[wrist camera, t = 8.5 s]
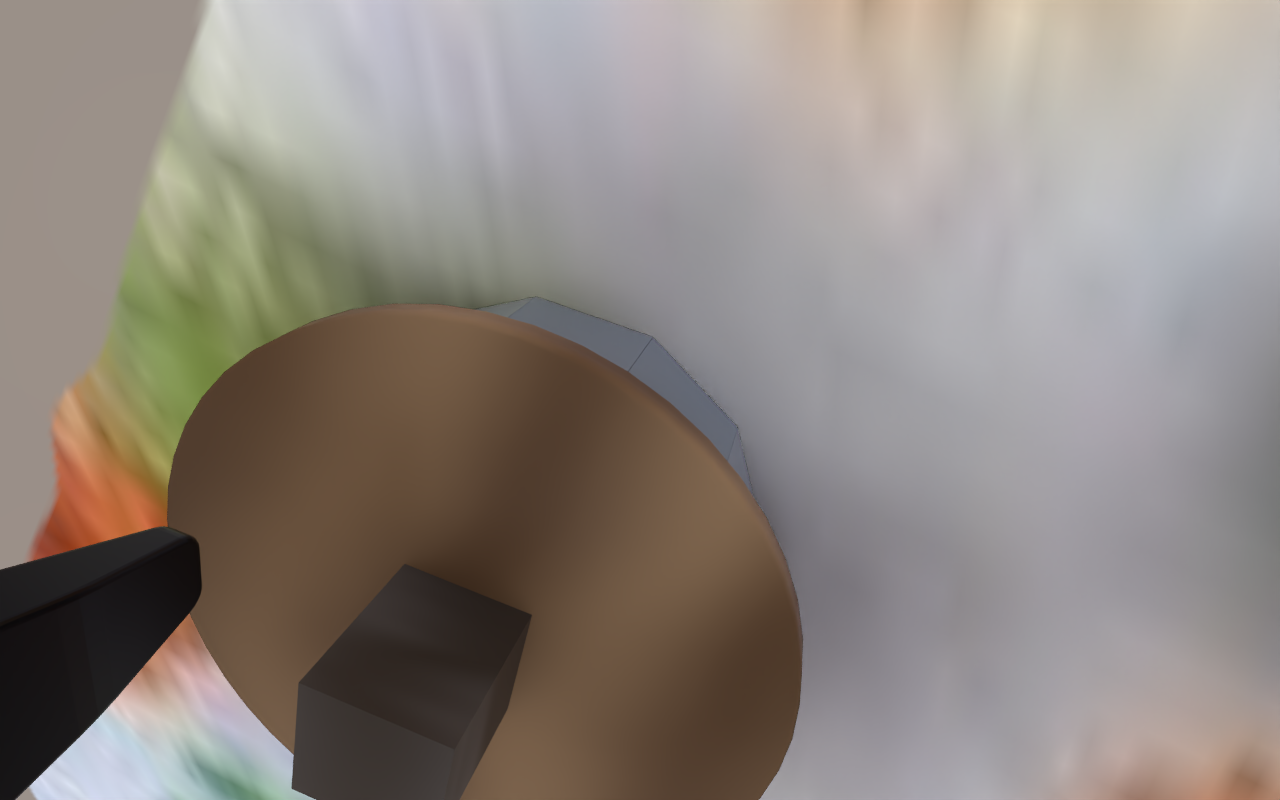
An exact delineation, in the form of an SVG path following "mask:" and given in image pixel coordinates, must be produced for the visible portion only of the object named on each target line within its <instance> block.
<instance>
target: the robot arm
mask: <svg viewBox="0 0 1280 800" xmlns="http://www.w3.org/2000/svg"><path fill="white" fill-rule="evenodd" d="M201 591H202V575H201V560H200V547H199V543H198V541H197V540H196V538H195V537H193V536H191V535H189V534H186V533H184V532H181V531H179V530H176V529H174V528H171V527H165V526H163V527H156V528H152V529H148V530H145V531H141V532H137V533H134V534H130V535H126V536H122V537H119V538H115V539H111V540H108V541H104V542H100V543H97V544H93V545H89V546H86V547H82V548H78V549H75V550H71V551H67V552H64V553H60V554H56V555H53V556H49V557H45V558H42V559H38V560H34V561H31V562H27V563H23V564H19V565H16V566H12V567H8V568H5V569H1V570H0V800H16V799H17V798H18V797H19V796H20V794H22V793H23V792H24V791H25V790H26V789H27V788H28V787H29V786H30V785H31V784H32V783H33V782H34V781H35V780H36V779H37V778H38V777H39V776H40V775H41V774H42V773H43V772H44V771H45V770H46V769H47V768H48V767H49V766H50V765H51V764H52V763H53V762H54V761H55V760H56V759H57V758H59V757H60V756H61V755H62V754H63V753H64V752H65V751H66V750H67V749H68V748H69V747H70V746H71V745H72V744H73V743H74V742H75V741H76V740H77V739H78V738H79V737H80V736H81V735H82V734H83V733H84V732H85V731H86V730H87V729H88V728H89V727H90V726H91V725H92V724H93V723H94V722H95V721H96V720H97V719H98V718H99V717H100V715H101V714H102V713H103V712H104V711H105V710H106V709H107V708H108V707H109V706H110V704H111V703H112V702H113V701H114V700H115V699H116V698H117V697H118V696H119V694H120V693H121V692H122V691H123V690H124V689H125V687H126V686H127V685H128V684H129V683H130V682H131V680H132V679H133V678H134V677H135V676H136V675H137V673H138V672H139V671H140V670H141V669H142V668H143V666H144V665H145V664H146V663H147V662H148V661H149V659H150V658H151V657H152V656H153V655H154V654H155V652H156V651H157V650H158V649H159V648H160V647H161V645H162V644H163V643H164V642H165V641H166V640H167V638H168V637H169V636H170V635H171V634H172V633H173V631H174V630H175V629H176V628H177V627H178V626H179V624H180V623H181V622H182V621H183V620H184V619H185V617H186V616H187V615H188V614H189V613H190V612H191V610H192V609H193V608H194V606H195V605H196V603H197V601H198V599H199V597H200V595H201Z"/></svg>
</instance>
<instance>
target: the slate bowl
mask: <svg viewBox="0 0 1280 800" xmlns="http://www.w3.org/2000/svg"><path fill="white" fill-rule="evenodd" d="M474 310H480V311H487V312H490V313H494V314H497V315H501V316H504V317H508V318H511V319H515V320H518V321H522V322H525V323H529V324H532V325H535V326H538V327H540V328H542V329H545V330H547V331H549V332H552V333H554V334H557V335H559V336H561V337H564V338H566V339H568V340H571V341H573V342H575V343H578V344H580V345H582V346H584V347H586V348H588V349H589V350H591V351H593V352H595V353H596V354H598V355H600V356H602V357H603V358H605V359H607V360H609V361H610V362H612V363H614V364H616V365H617V366H619V367H621V368H623V369H624V370H626V371H628V372H629V373H631V374H632V375H633V376H635V377H636V378H637V379H639V380H640V381H642V382H643V383H644V384H646V385H647V386H648V387H650V388H651V389H652V390H654V391H655V392H656V393H658V394H659V395H661V396H662V397H663V398H665V399H666V400H667V401H669V402H670V403H671V404H672V405H673V406H674V407H675V408H677V409H678V410H679V411H680V412H681V413H682V414H683V415H684V416H685V417H686V418H687V419H688V420H689V421H690V422H691V423H692V424H694V425H695V426H696V427H697V428H698V429H699V430H700V431H701V432H702V433H703V434H704V435H705V436H706V437H707V438H708V439H709V440H710V441H711V442H712V443H713V445H714V446H715V447H716V448H717V449H718V451H719V452H720V453H721V454H722V455H723V457H724V458H725V459H726V460H727V461H728V463H729V464H730V465H731V466H732V467H733V469H734V470H735V471H736V472H737V473H738V475H739V476H740V477H741V478H742V480H743V482H744V483H745V485H746V486H747V488H748V489H749V491H750V493H751V494H752V496H753V492H752V487H751V483H750V479H749V474H748V470H747V466H746V461H745V457H744V452H743V448H742V444H741V439H740V435H739V431H738V428H737V426H736V425H735V424H734V423H733V422H732V421H731V420H730V419H729V418H728V417H727V415H726V414H725V413H724V412H723V411H722V410H721V409H720V408H719V407H718V406H717V405H716V404H715V403H714V402H713V400H712V399H711V398H710V397H709V396H708V395H707V394H706V393H705V392H704V391H703V390H702V389H701V388H700V387H699V386H698V384H697V383H696V382H695V381H694V380H693V379H692V378H691V377H690V376H689V375H688V374H687V373H686V372H685V371H684V370H683V368H682V367H681V366H680V365H679V364H678V363H677V362H676V361H675V360H674V359H673V358H672V357H671V356H670V355H669V354H668V352H667V351H666V350H665V349H664V348H663V347H662V346H661V345H660V344H659V343H658V342H657V341H656V340H655V339H654V338H653V337H651V336H649V335H646V334H643V333H640V332H637V331H634V330H631V329H628V328H625V327H623V326H620V325H617V324H614V323H611V322H608V321H605V320H602V319H599V318H597V317H594V316H591V315H588V314H585V313H582V312H579V311H576V310H573V309H571V308H568V307H565V306H562V305H559V304H556V303H553V302H550V301H548V300H545V299H542V298H539V297H532V298H527V299H522V300H517V301H513V302H508V303H503V304H498V305H493V306H488V307H483V308H478V309H474ZM753 497H754V496H753Z"/></svg>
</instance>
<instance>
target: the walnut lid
mask: <svg viewBox="0 0 1280 800" xmlns="http://www.w3.org/2000/svg"><path fill="white" fill-rule="evenodd" d="M167 521H168V527H171V528H174V529H176V530H179V531H181V532H184V533H186V534H189V535H191V536H193V537H195V538H196V540H197V541H198V543H199V547H200V560H201V575H202V591H201V595H200V597H199V599H198V601H197V603H196V605H195V606H194V608H193V609H192V610H191V612H190V615H191V618H192V620H193V622H194V624H195V626H196V628H197V630H198V632H199V634H200V636H201V638H202V640H203V642H204V644H205V646H206V648H207V649H208V651H209V652H210V654H211V656H212V657H213V659H214V660H215V662H216V664H217V665H218V667H219V668H220V670H221V672H222V673H223V675H224V676H225V678H226V679H227V681H228V682H229V683H230V685H231V686H232V687H233V689H234V690H235V691H236V693H237V694H238V695H239V697H240V698H241V699H242V700H243V702H244V703H245V704H246V706H247V707H248V708H249V709H250V710H251V711H252V713H253V714H254V715H255V716H256V717H257V718H258V719H259V720H260V721H261V723H262V724H263V725H264V726H265V727H266V728H267V729H268V730H269V731H270V733H271V734H272V735H274V736H275V737H276V738H277V739H278V740H279V741H280V742H281V743H282V744H283V745H284V746H285V747H286V748H287V749H288V750H289V751H290V752H291V753H292V754H294V760H293V776H292V789H294V790H296V791H298V792H300V793H303V794H305V795H307V796H309V797H312V798H314V799H316V800H759V799H760V798H761V796H762V795H763V793H764V792H765V790H766V789H767V787H768V786H769V784H770V783H771V781H772V780H773V778H774V777H775V775H776V774H777V772H778V771H779V769H780V766H781V764H782V762H783V759H784V757H785V755H786V752H787V750H788V748H789V745H790V743H791V741H792V737H793V733H794V728H795V723H796V719H797V714H798V709H799V705H800V692H801V678H802V652H803V635H802V628H801V620H800V613H799V606H798V599H797V595H796V592H795V589H794V585H793V582H792V579H791V575H790V572H789V569H788V565H787V562H786V559H785V556H784V554H783V552H782V550H781V548H780V546H779V543H778V541H777V539H776V537H775V535H774V533H773V530H772V528H771V526H770V524H769V522H768V520H767V518H766V516H765V514H764V513H763V511H762V510H761V508H760V507H759V505H758V503H757V502H756V500H755V499H754V497H753V496H752V494H751V493H750V491H749V489H748V488H747V486H746V485H745V483H744V482H743V480H742V478H741V477H740V476H739V475H738V473H737V472H736V471H735V470H734V469H733V467H732V466H731V465H730V464H729V463H728V461H727V460H726V459H725V458H724V457H723V455H722V454H721V453H720V452H719V451H718V449H717V448H716V447H715V446H714V445H713V443H712V442H711V441H710V440H709V439H708V438H707V437H706V436H705V435H704V434H703V433H702V432H701V431H700V430H699V429H698V428H697V427H696V426H695V425H694V424H692V423H691V422H690V421H689V420H688V419H687V418H686V417H685V416H684V415H683V414H682V413H681V412H680V411H679V410H678V409H677V408H675V407H674V406H673V405H672V404H671V403H670V402H669V401H667V400H666V399H665V398H663V397H662V396H661V395H659V394H658V393H656V392H655V391H654V390H652V389H651V388H650V387H648V386H647V385H646V384H644V383H643V382H642V381H640V380H639V379H637V378H636V377H635V376H633V375H632V374H631V373H629V372H628V371H626V370H624V369H623V368H621V367H619V366H617V365H616V364H614V363H612V362H610V361H609V360H607V359H605V358H603V357H602V356H600V355H598V354H596V353H595V352H593V351H591V350H589V349H588V348H586V347H584V346H582V345H580V344H578V343H575V342H573V341H571V340H568V339H566V338H564V337H561V336H559V335H557V334H554V333H552V332H549V331H547V330H545V329H542V328H540V327H538V326H535V325H532V324H529V323H525V322H522V321H518V320H515V319H511V318H508V317H504V316H501V315H497V314H494V313H490V312H487V311H480V310H474V309H467V308H460V307H454V306H447V305H440V304H387V305H380V306H372V307H365V308H358V309H351V310H347V311H344V312H341V313H338V314H334V315H331V316H328V317H324V318H321V319H318V320H314V321H312V322H310V323H308V324H306V325H303V326H301V327H299V328H297V329H295V330H293V331H291V332H289V333H287V334H285V335H283V336H281V337H279V338H277V339H275V340H273V341H271V342H269V343H267V344H265V345H263V346H261V347H259V348H257V349H255V350H253V351H252V352H250V353H249V354H248V355H246V356H245V357H244V358H242V359H241V360H240V361H238V362H237V363H236V364H234V365H233V366H232V367H230V368H229V369H228V370H226V371H225V372H224V373H223V374H222V375H221V377H220V378H219V379H218V380H217V381H216V382H215V383H214V384H213V385H212V387H211V388H210V389H209V390H208V391H207V392H206V393H205V394H204V396H203V397H202V398H201V400H200V401H199V403H198V405H197V406H196V408H195V410H194V411H193V413H192V415H191V416H190V418H189V420H188V421H187V423H186V425H185V427H184V430H183V433H182V435H181V438H180V441H179V443H178V446H177V449H176V451H175V454H174V458H173V464H172V469H171V474H170V480H169V485H168V511H167Z"/></svg>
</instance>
